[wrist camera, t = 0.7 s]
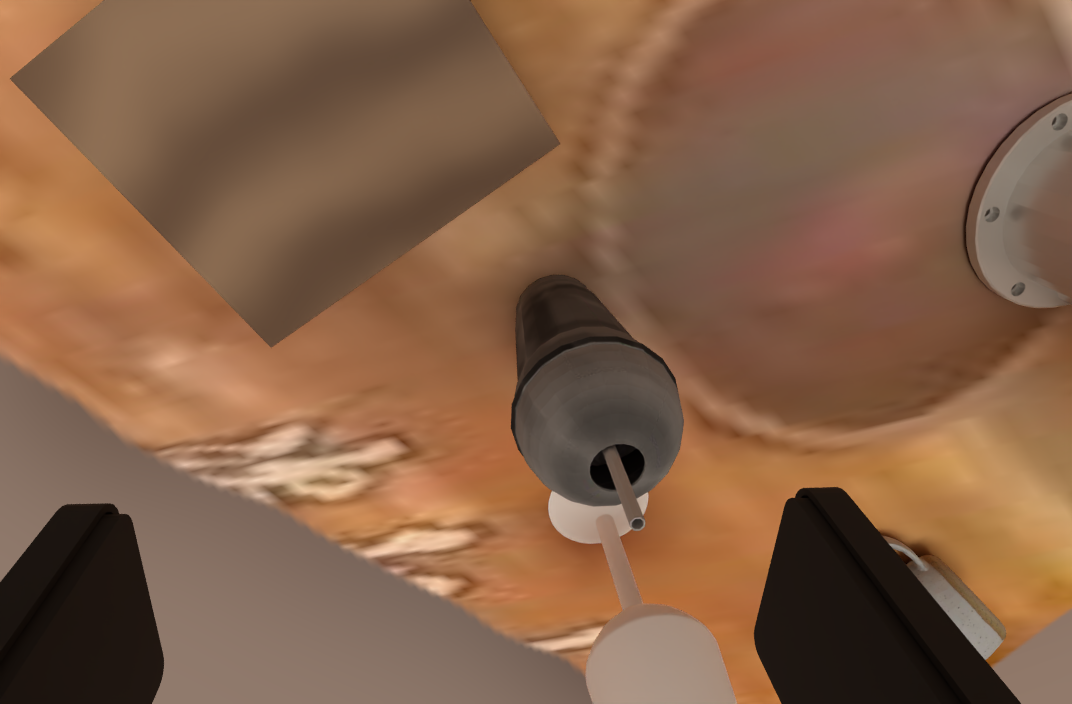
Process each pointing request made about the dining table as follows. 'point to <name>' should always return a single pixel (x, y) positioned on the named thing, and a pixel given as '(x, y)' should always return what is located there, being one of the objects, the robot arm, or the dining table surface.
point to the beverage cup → (591, 400)
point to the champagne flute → (641, 627)
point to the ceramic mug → (956, 600)
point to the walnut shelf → (290, 133)
